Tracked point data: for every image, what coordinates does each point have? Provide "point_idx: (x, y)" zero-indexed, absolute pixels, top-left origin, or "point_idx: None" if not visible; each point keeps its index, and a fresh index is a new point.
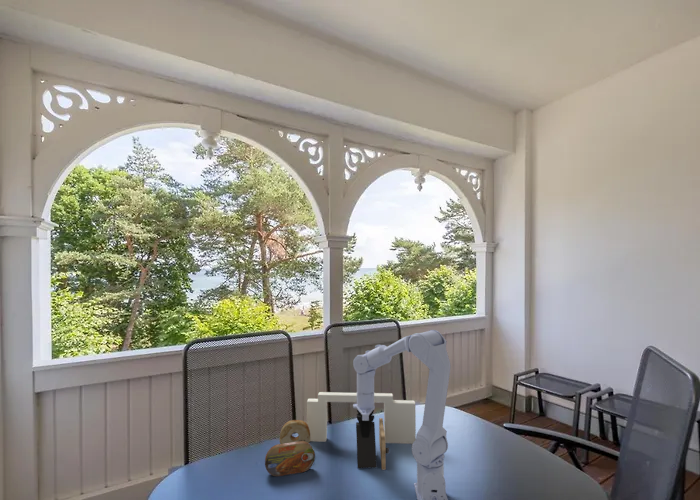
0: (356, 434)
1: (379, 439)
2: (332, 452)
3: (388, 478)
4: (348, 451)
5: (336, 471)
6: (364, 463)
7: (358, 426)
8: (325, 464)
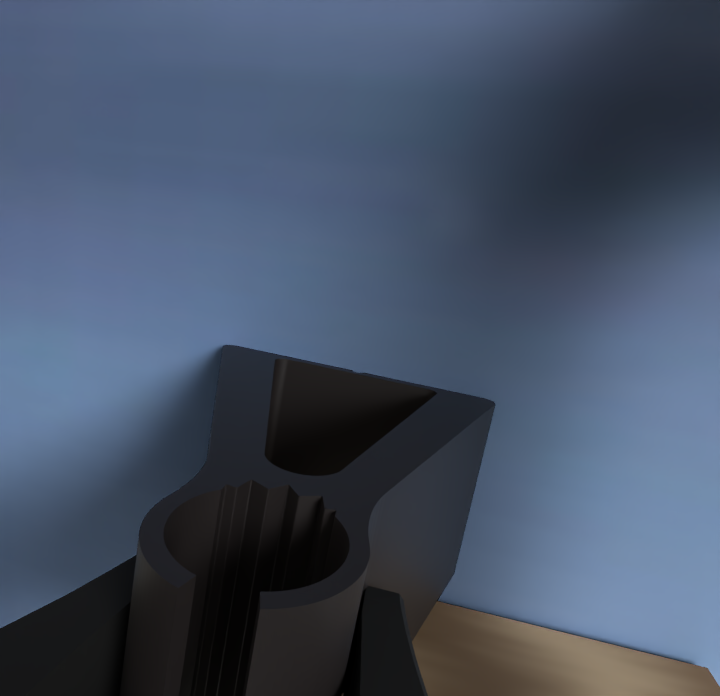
0: (207, 464)
1: (663, 688)
2: (589, 117)
3: (83, 549)
4: (571, 309)
5: (201, 133)
6: (212, 419)
7: (134, 598)
8: (339, 17)
